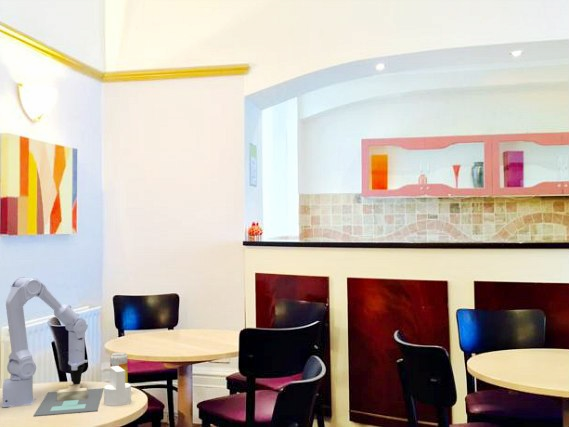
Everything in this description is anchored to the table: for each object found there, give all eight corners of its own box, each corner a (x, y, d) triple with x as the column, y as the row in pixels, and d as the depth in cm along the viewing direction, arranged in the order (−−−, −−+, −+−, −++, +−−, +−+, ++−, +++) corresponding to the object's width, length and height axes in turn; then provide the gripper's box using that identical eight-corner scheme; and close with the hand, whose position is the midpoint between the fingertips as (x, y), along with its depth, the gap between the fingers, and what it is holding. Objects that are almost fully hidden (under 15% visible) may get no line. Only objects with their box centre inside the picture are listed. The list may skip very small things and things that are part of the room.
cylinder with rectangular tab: (134, 404, 199) (133, 369, 200) (108, 408, 195) (107, 373, 195) (126, 398, 207) (126, 364, 207) (101, 402, 202) (101, 368, 203)
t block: (56, 401, 203) (56, 392, 203) (61, 393, 212) (61, 385, 212) (86, 398, 205) (86, 390, 205) (89, 391, 215) (89, 383, 215)
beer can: (130, 392, 214) (129, 352, 215) (123, 397, 208) (123, 355, 209) (114, 392, 215) (114, 351, 215) (107, 396, 209) (107, 355, 209)
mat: (33, 416, 187) (33, 415, 187) (48, 393, 214) (47, 392, 214) (97, 411, 192) (97, 410, 192) (103, 389, 219) (103, 388, 219)
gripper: (85, 352, 212) (85, 389, 212) (89, 345, 226) (89, 379, 226) (65, 353, 211) (65, 390, 210) (70, 346, 225) (70, 381, 224)
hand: (76, 385), depth 218 cm, fingers closed
